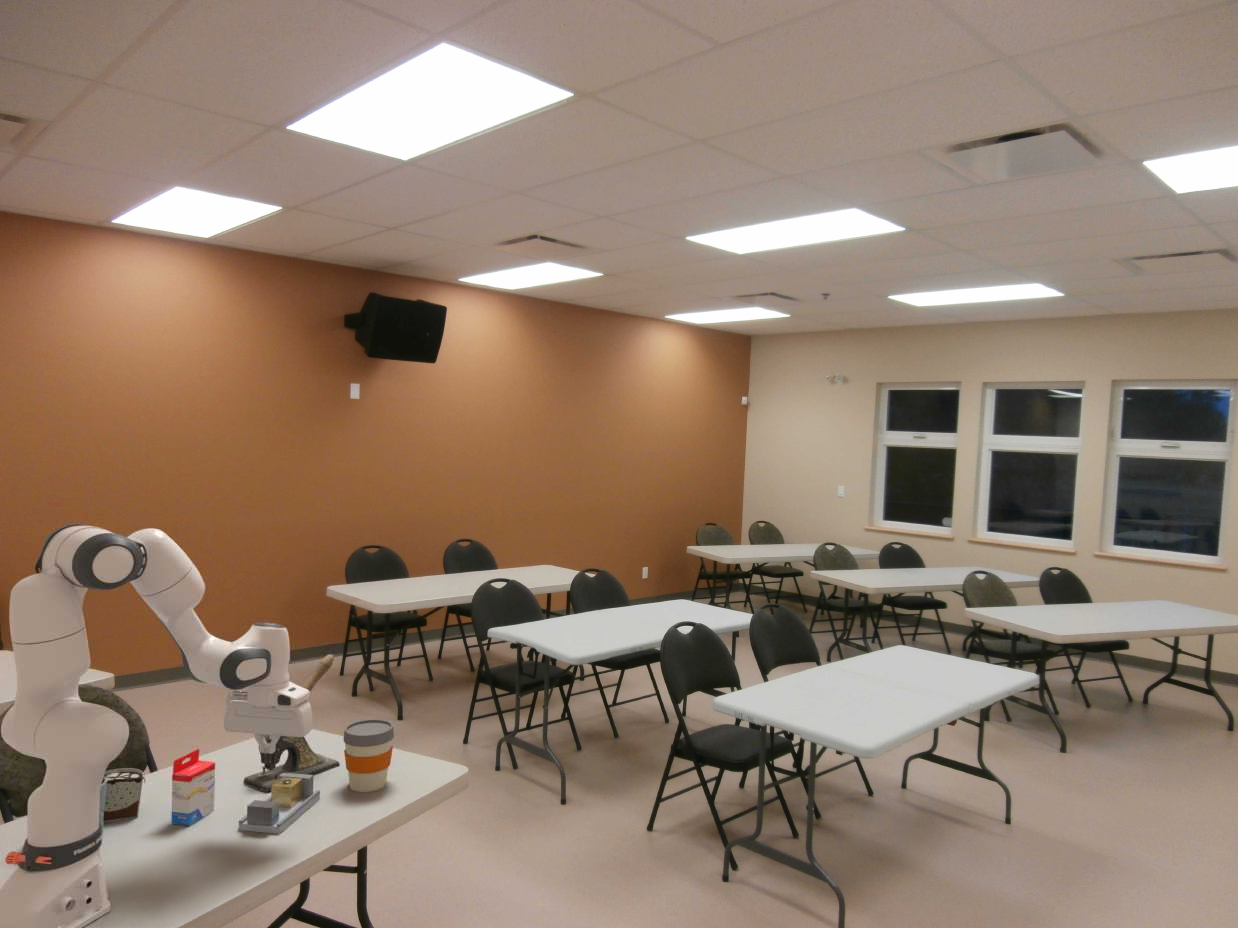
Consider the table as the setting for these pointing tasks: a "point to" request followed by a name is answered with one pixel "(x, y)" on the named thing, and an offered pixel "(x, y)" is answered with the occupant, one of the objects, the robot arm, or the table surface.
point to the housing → (287, 792)
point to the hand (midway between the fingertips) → (267, 752)
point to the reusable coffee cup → (368, 753)
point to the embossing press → (293, 748)
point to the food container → (122, 794)
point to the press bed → (287, 814)
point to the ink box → (192, 789)
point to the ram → (263, 812)
